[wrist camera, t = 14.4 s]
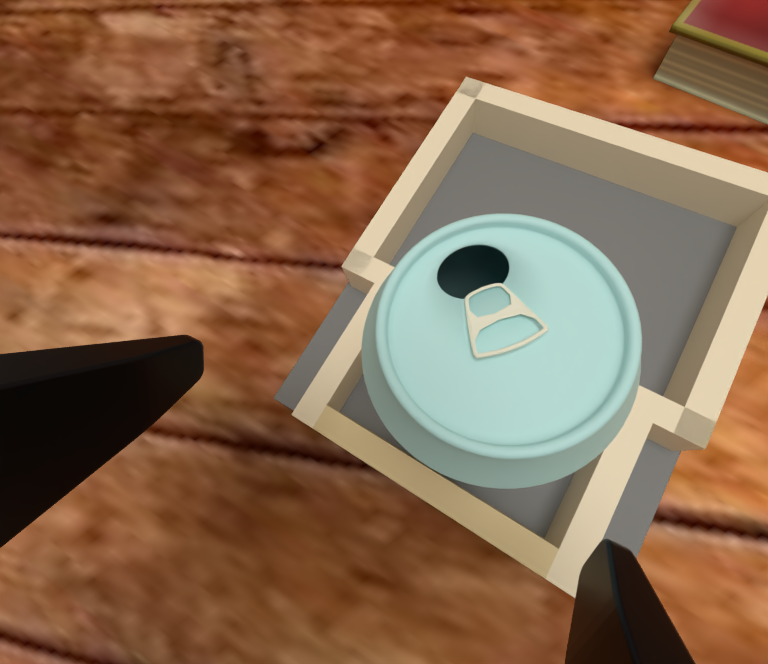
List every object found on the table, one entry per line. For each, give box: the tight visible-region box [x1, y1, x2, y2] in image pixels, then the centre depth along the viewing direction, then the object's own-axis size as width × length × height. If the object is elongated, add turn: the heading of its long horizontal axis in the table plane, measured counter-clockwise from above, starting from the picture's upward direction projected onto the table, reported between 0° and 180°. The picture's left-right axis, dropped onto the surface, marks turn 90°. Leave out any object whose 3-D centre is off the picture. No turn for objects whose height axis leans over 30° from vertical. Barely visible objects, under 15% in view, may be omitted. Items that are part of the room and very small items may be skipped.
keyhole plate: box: [274, 77, 768, 598], centre depth 21 cm, size 21×18×4 cm
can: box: [361, 213, 642, 489], centre depth 15 cm, size 7×7×12 cm
